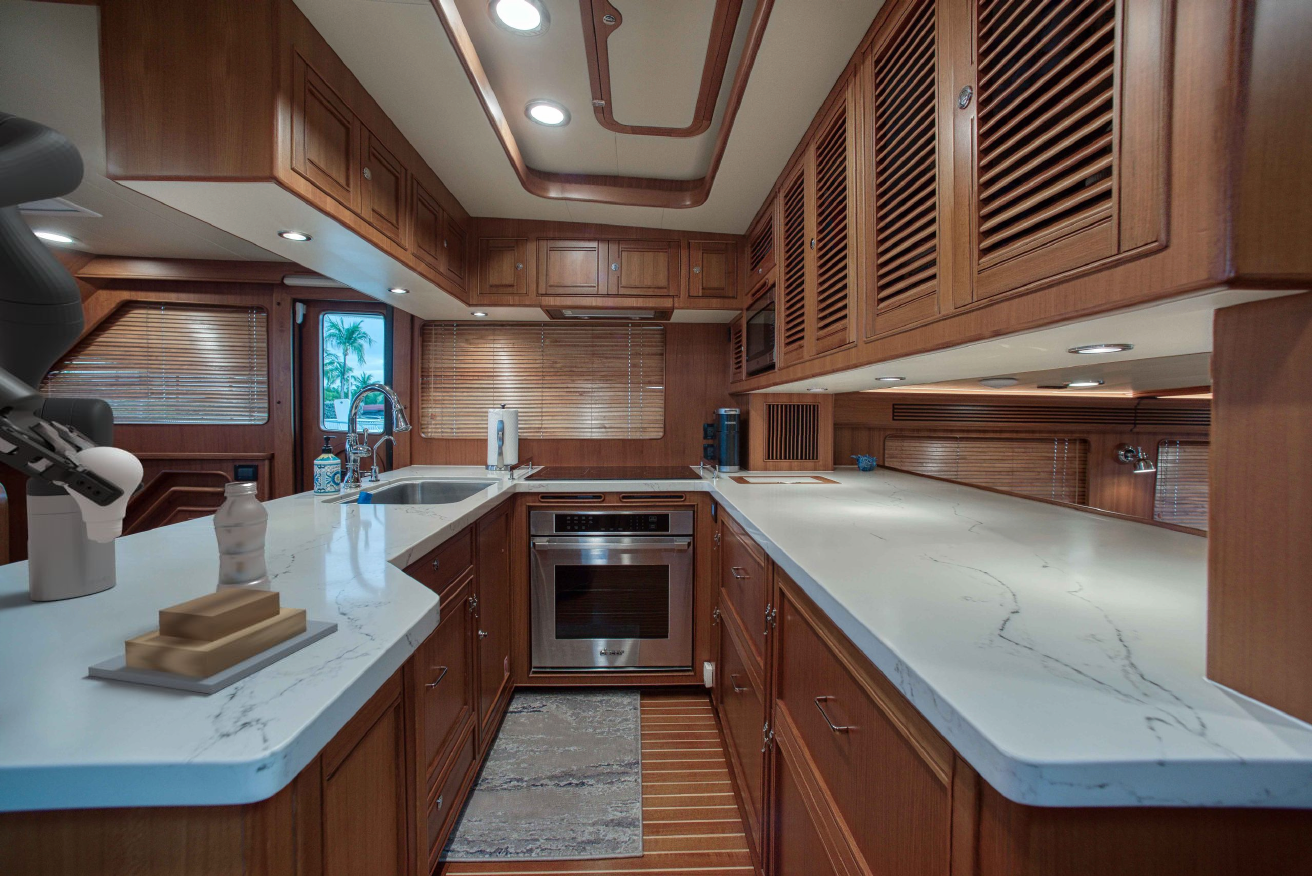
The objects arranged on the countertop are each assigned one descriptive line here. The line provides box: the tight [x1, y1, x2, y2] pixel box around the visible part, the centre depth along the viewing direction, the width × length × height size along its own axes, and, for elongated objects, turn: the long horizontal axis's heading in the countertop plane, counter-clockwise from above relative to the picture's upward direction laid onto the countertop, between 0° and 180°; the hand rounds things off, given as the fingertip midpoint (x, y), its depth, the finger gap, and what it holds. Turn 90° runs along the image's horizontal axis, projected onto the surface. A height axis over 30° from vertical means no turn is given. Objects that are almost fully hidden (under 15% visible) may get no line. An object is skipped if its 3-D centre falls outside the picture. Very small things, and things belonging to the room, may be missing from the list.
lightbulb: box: [64, 447, 144, 543], centre depth 53 cm, size 6×6×11 cm
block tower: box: [124, 587, 307, 678], centre depth 59 cm, size 12×12×6 cm
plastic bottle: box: [212, 481, 272, 592], centre depth 73 cm, size 6×7×20 cm
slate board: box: [87, 619, 339, 695], centre depth 61 cm, size 18×16×1 cm
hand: (126, 495), depth 54 cm, fingers closed on lightbulb, 5 cm apart
